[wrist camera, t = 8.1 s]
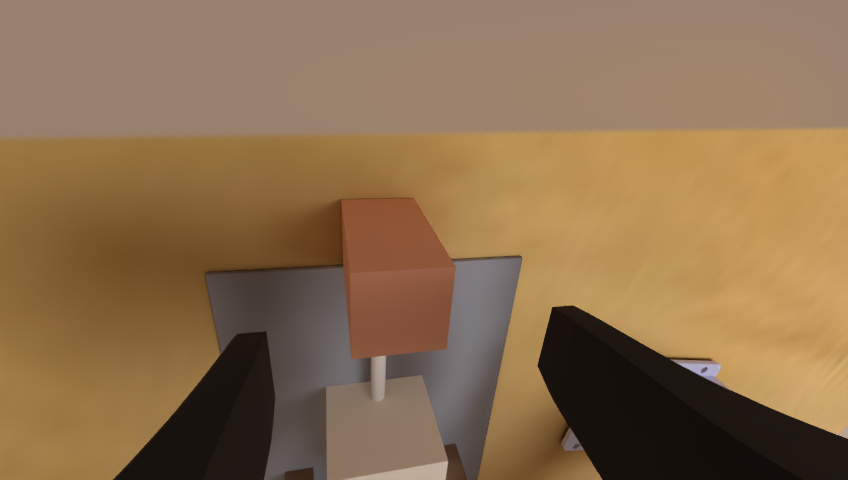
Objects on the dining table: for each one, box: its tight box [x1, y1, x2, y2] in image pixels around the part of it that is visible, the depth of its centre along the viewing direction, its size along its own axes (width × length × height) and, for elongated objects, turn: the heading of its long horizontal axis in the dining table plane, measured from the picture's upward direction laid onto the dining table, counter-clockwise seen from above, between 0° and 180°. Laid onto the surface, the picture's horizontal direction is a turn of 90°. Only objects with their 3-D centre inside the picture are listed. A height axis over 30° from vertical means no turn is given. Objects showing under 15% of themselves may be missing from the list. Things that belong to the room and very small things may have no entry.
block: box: [326, 198, 456, 480], centre depth 17 cm, size 5×15×6 cm, turn 176°
